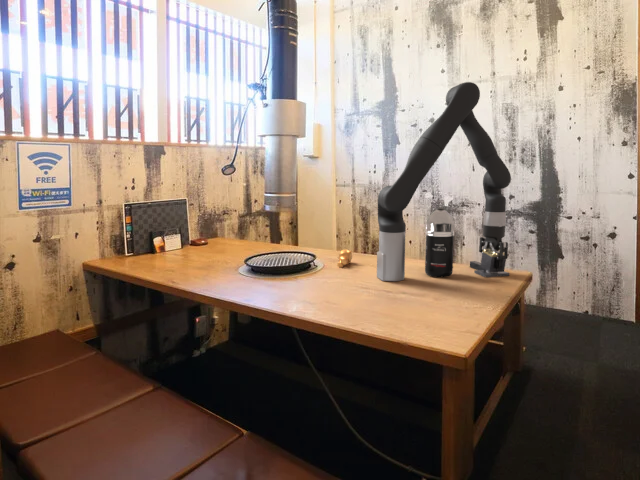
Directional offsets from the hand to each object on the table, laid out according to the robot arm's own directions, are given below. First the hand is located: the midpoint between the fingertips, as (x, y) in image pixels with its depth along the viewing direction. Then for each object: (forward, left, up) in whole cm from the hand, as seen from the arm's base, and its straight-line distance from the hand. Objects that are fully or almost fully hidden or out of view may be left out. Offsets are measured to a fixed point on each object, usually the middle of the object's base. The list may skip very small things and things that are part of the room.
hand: (491, 267), depth 165 cm
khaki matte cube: (0, 0, -1) cm, 1 cm away
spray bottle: (-19, +4, -3) cm, 20 cm away
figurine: (-48, +30, -3) cm, 57 cm away
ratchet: (0, +5, -3) cm, 5 cm away
